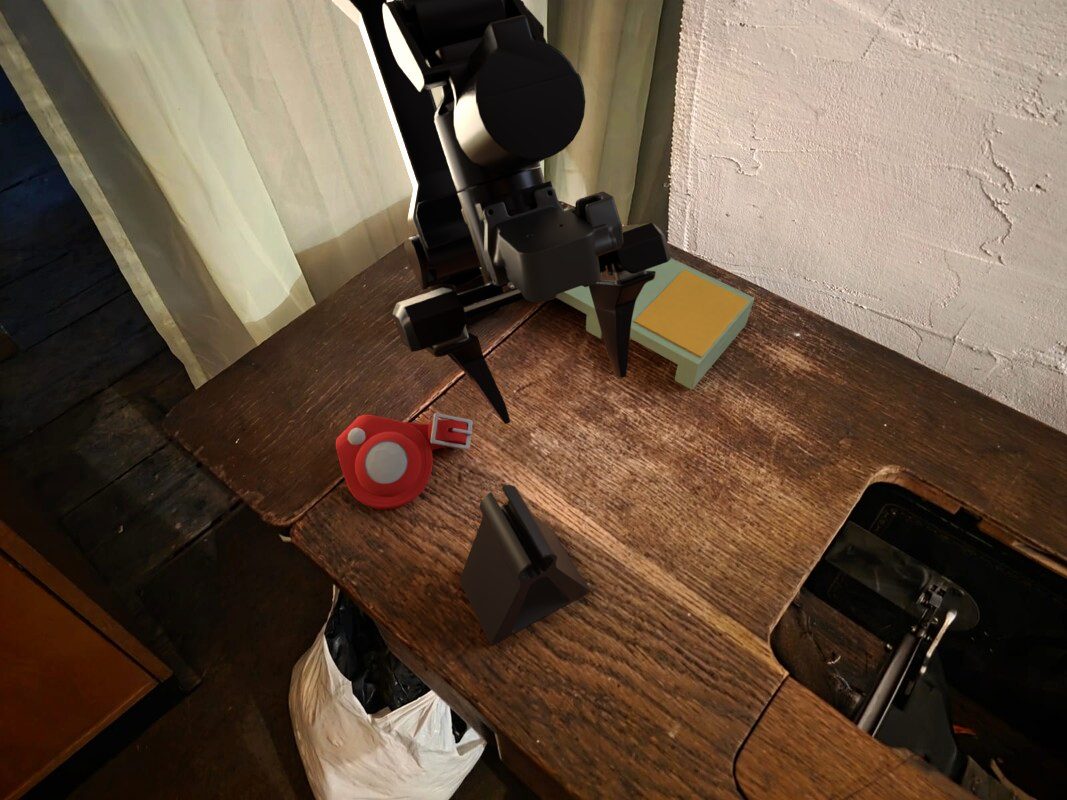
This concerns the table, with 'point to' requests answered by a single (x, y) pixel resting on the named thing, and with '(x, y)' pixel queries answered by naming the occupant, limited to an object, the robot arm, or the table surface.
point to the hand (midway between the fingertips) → (565, 399)
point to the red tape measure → (395, 456)
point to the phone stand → (516, 569)
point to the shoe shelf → (678, 317)
